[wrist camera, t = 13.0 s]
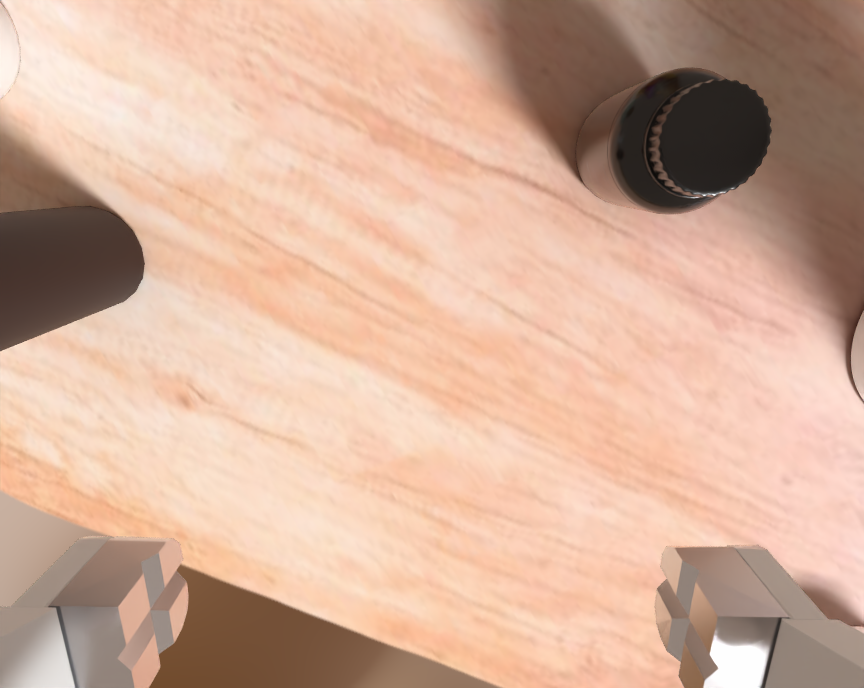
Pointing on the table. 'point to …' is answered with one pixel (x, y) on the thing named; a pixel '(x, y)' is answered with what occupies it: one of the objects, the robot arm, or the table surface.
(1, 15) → the milk bottle
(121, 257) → the vinegar
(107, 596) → the robot arm
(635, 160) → the supplement bottle
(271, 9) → the table surface
